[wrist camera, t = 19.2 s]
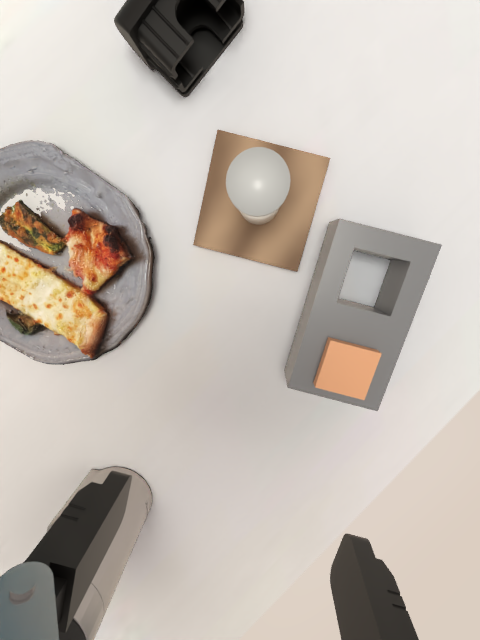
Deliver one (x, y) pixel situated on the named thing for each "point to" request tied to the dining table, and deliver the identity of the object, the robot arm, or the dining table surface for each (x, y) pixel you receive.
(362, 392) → the orange cube
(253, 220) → the cylinder
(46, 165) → the food plate
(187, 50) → the end cap
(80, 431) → the dining table surface
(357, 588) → the robot arm
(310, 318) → the grey hollow block
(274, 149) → the walnut board
